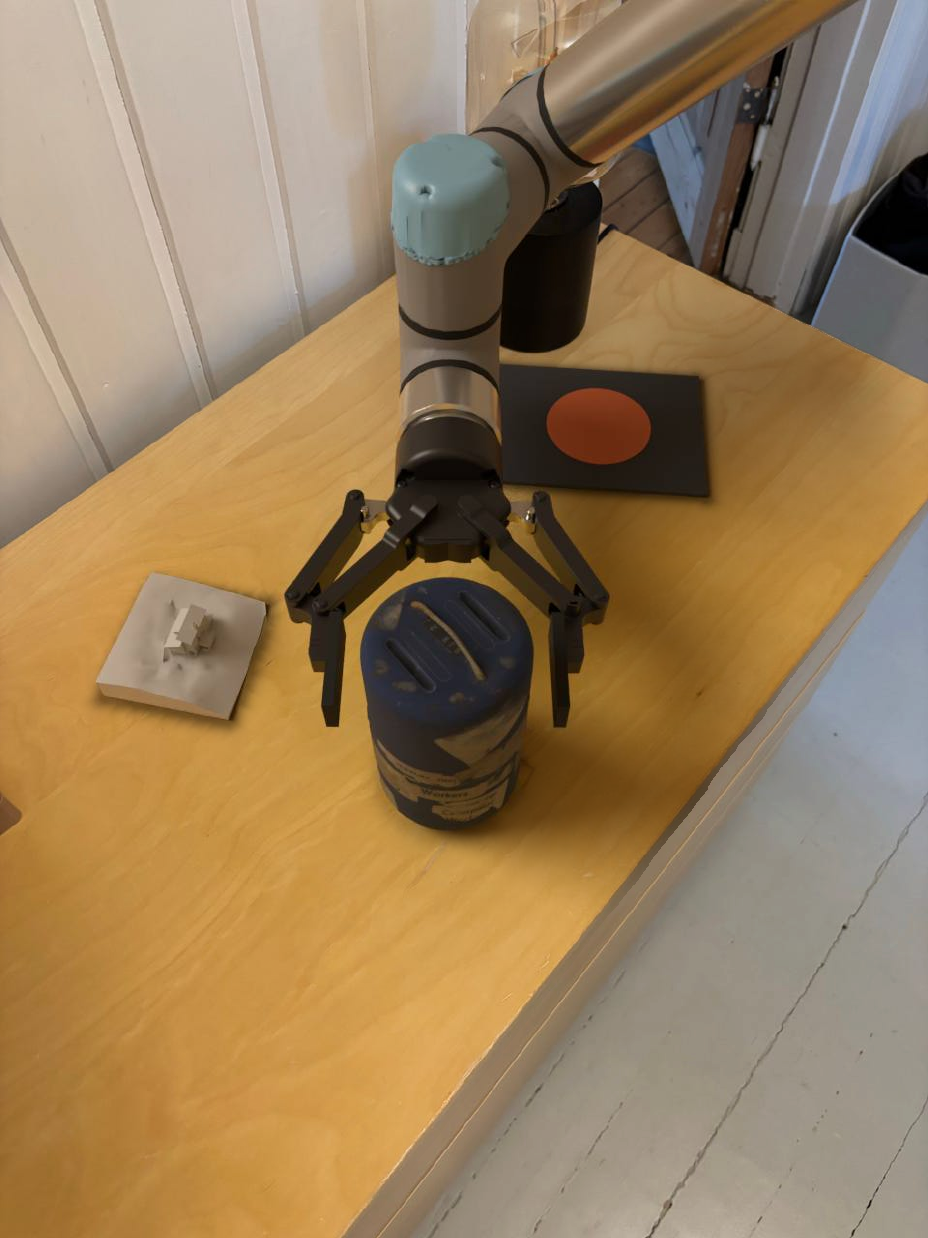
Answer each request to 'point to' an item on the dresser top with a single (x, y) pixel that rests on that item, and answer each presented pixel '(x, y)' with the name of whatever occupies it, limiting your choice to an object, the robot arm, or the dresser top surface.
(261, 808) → the dresser top surface
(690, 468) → the mat
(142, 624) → the miniature house
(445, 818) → the canister
